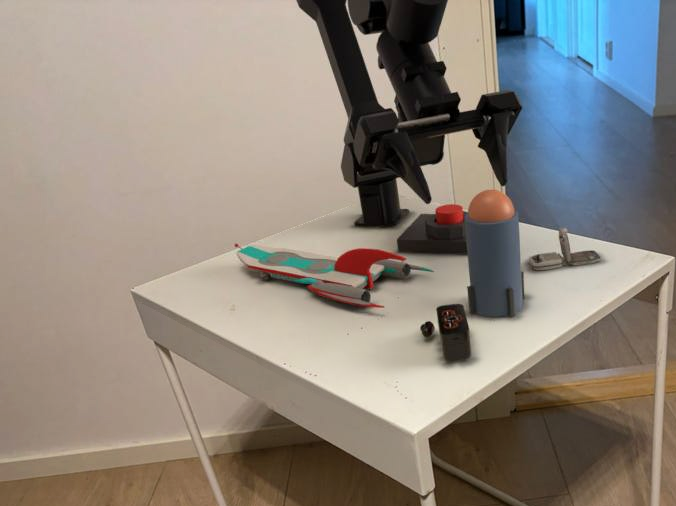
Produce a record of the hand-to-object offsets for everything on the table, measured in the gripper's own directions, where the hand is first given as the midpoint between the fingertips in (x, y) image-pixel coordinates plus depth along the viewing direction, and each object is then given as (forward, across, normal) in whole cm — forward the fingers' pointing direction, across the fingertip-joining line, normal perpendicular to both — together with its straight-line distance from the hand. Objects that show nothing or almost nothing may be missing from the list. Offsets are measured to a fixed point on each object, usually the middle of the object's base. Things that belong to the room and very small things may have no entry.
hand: (467, 193), depth 77 cm
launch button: (-5, -4, -16) cm, 18 cm away
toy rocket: (+12, 0, -5) cm, 13 cm away
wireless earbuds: (+15, +8, -1) cm, 17 cm away
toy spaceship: (-2, +15, -18) cm, 24 cm away
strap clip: (+8, -12, -8) cm, 17 cm away
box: (-4, -4, -20) cm, 21 cm away
